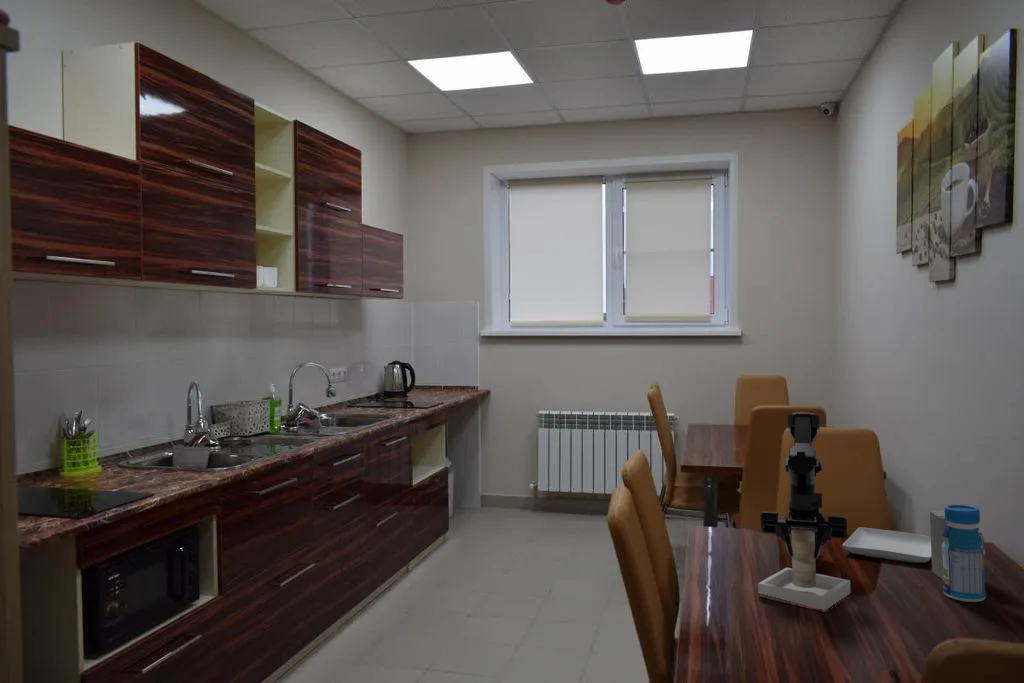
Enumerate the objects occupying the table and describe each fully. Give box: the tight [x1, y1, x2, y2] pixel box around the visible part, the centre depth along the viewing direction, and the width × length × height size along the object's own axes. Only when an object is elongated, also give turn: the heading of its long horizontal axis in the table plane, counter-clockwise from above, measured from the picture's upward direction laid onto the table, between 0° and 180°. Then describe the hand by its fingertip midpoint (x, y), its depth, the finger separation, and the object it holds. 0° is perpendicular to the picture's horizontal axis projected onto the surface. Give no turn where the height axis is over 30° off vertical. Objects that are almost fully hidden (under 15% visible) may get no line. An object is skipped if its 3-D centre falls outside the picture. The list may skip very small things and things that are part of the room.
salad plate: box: [842, 526, 932, 564], centre depth 199 cm, size 21×21×3 cm
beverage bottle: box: [941, 504, 987, 603], centre depth 164 cm, size 8×8×20 cm
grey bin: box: [757, 567, 851, 610], centre depth 168 cm, size 15×15×3 cm
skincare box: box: [929, 510, 978, 581], centre depth 177 cm, size 8×7×16 cm
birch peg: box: [790, 529, 817, 588], centre depth 168 cm, size 5×5×12 cm
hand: (803, 557), depth 167 cm, fingers closed on birch peg, 5 cm apart
